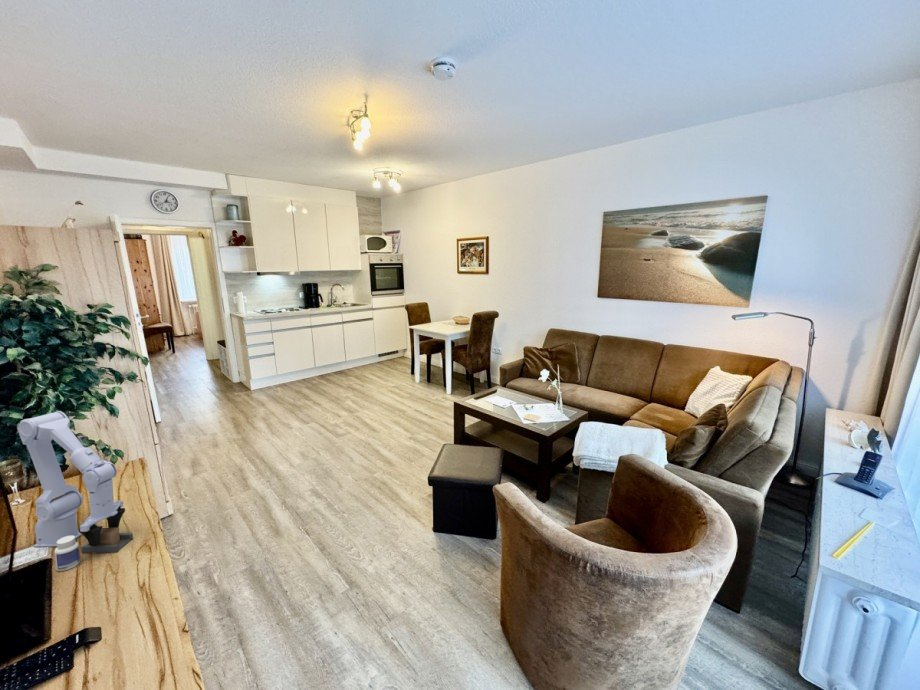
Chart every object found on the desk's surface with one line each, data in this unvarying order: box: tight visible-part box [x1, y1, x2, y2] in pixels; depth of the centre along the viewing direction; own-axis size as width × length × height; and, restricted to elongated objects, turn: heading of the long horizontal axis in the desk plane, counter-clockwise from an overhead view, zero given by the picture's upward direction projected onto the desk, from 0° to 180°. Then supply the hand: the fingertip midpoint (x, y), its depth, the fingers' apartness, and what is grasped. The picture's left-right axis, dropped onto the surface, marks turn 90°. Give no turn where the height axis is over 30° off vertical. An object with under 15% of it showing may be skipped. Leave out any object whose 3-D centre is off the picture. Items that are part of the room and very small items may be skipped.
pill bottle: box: [53, 535, 81, 572], centre depth 115 cm, size 5×5×9 cm
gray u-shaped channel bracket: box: [80, 532, 134, 554], centre depth 125 cm, size 10×7×2 cm, turn 96°
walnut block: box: [99, 527, 120, 545], centre depth 125 cm, size 6×4×5 cm, turn 96°
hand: (104, 538), depth 124 cm, fingers open, 7 cm apart
